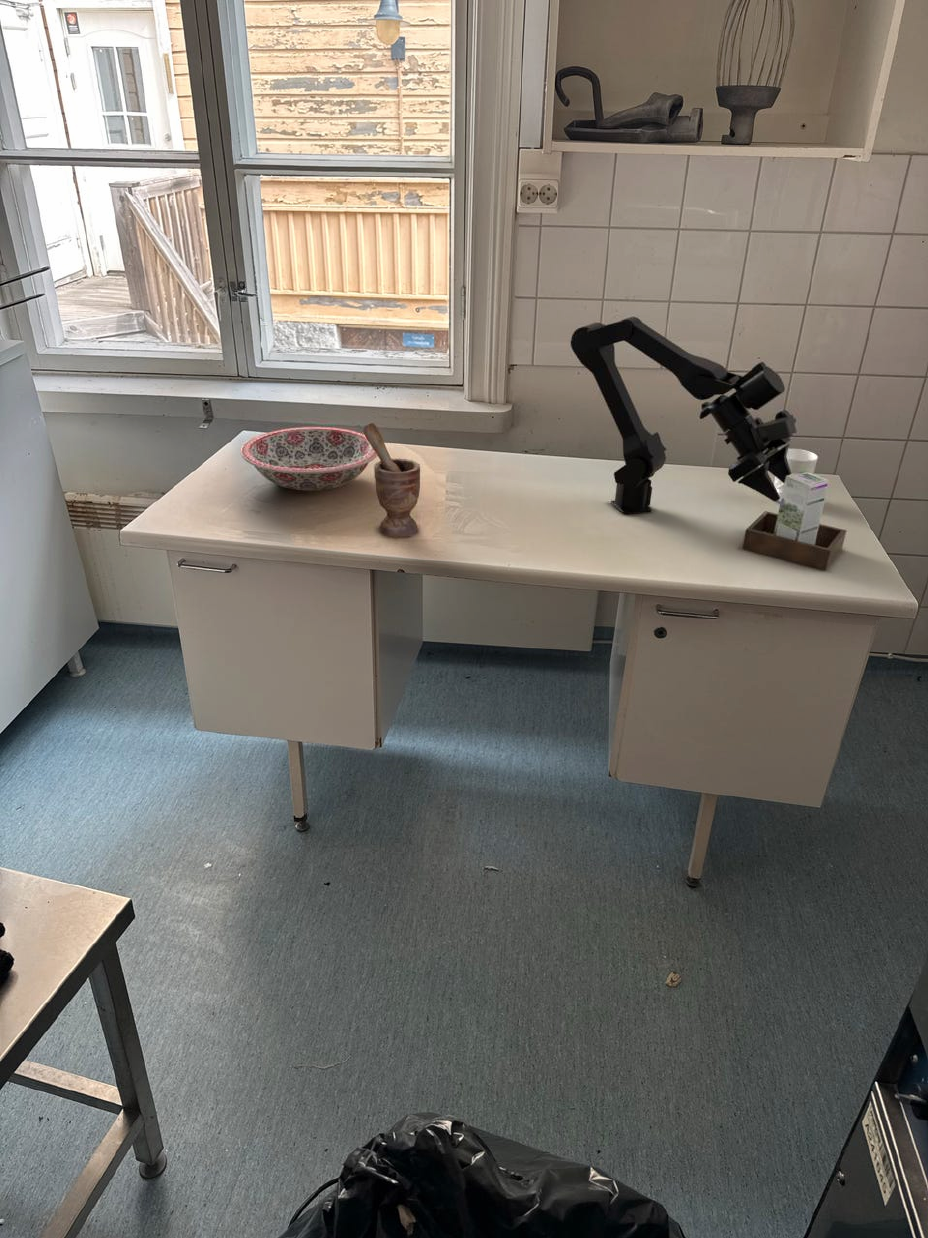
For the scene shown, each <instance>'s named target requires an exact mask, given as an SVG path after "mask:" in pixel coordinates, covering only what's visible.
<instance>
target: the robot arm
mask: <svg viewBox="0 0 928 1238" xmlns="http://www.w3.org/2000/svg"><path fill="white" fill-rule="evenodd" d="M620 342H625V343H627V344H629V345H630V346H632V347H633V348H634V349H636V350H638V351H639V352H641V353H642V354H644V355H645V356H647V357H648V358H649V359H651V360H653V361H654V362H656V363H657V364H659V365H660V366H661V367H663V368H664V369H666V370H667V371H669V372H670V373H672V374H673V375H674V376H675V377H676V379H677V381H678V382H679V383H680V385H681V386H682V387H683V389H685V390H686V391H687V392H688V393H689V394H690V395H691V396H692V397H694V398H695V399H696V400H698V401H705V400H710V399H711V398H713V397H714V396H718V397H716V398H715V399H714V400H713V401H711V402H709V401H705V402H703V403H701V410H700V413H699V419H700V420H704V419H705V418H707V417H708V416H709V415H711V416H712V418H713V419H714V421H715V422H716V424H717V425H718V426H719V428H720V429H721V431H722V432H723V433H724V435H725V437H726V438H725V439H724V440H723V442H725V444H726V445H729V444H731V445H732V446H733V448H734V449H735V451H736V452H737V454H738V455H739V456H738V457H736V461H735V462H734V463H732V464H731V465H730V466H729V467H728V470H727V475H728V476H729V478H730V479H731V481H732V482H733V483H735V482H737V483H738V484H739V485H740V484H742V485H744V486H745V487H747V488H750V489H752V490H753V491H756V492H757V493H759V494H761V495H762V496H764V497H766V498H767V499H769V500H771V501H773V502H778V501H777V500H779V499H780V496H779V494H778V492H777V490H776V488H775V486H774V482H773V480H772V478H771V477H770V475H769V473H770V474H772V475H773V476H774V478H775V477H777V478H778V479H779V480H780V481H782V482H783V483H785V478H786V476H788V475H790V474H791V471H790V468H789V464H788V461H787V457H786V456H787V452H788V449H790V447H791V446H790V445H791V444H790V443H789V442H790V441H791V438H792V437H793V436H794V435H793V434H796V433H797V428H796V423H797V419H796V418H795V417H794V415H793V414H791V413H789V411H788V410H787V409H784V410H781V411H778V412H777V413H775V417H774V419H770V420H769V421H766V422H764V421H763V420H762V418H761V417H758V416H757V417H755V418H754V417H753V415H752V414H751V412H750V411H749V410H750V409H752V410H755V411H758V410H760V409H762V408H763V407H764V406H766V405H767V404H769V403H770V402H772V401H774V400H775V399H776V398H778V397H779V396H780V395H782V394H783V393H784V392H785V390H786V388H785V384H784V381H783V379H782V378H781V376H780V375H779V373H778V372H775V371H774V369H772V368H771V367H769V366H768V365H767V364H765V362H764V361H761V362H759V363H757V364H756V365H754V366H753V367H752V368H751V370H749V371H747V372H746V373H745V374H744V375H740V374H737V373H734V372H730V371H728V370H727V369H726V368H725V367H724V366H723V365H722V364H720V363H718V362H715V361H713V360H711V359H708V358H705V357H703V356H698V355H694V354H692V353H690V352H687V351H686V350H685V349H683V348H682V347H680V346H679V345H677V344H676V343H674V342H672V341H671V340H670V339H668V338H667V337H665V336H664V335H662V334H661V333H659V332H658V331H656V330H655V329H653V328H651V327H650V326H648V325H647V324H646V323H645V322H642V320H641V319H640V318H639V317H637V316H630V317H626V318H624V319H621V320H619V321H616V322H612V323H609V324H604V323H601V322H593V323H590V324H587V325H583V326H581V327H578V328H576V329H575V330H574V331H573V333H572V335H571V339H570V340H569V343H570V348H571V350H572V352H573V353H574V355H575V356H576V358H577V359H578V361H579V363H580V364H582V366H584V368H586V369H587V370H588V371H589V372H590V373H591V374H592V375H593V377H594V379H595V382H596V384H597V387H598V388H599V391H600V393H601V395H602V397H603V399H604V402H605V404H606V406H607V408H608V411H609V413H610V414H611V417H612V419H613V422H614V424H615V426H616V428H617V430H618V433H619V434H620V436H621V439H622V457H623V460H624V463H625V464H624V465H623V466H621V467H620V468H619V469H617V470H615V471H614V472H613V478H614V482H615V484H616V487H615V497H614V500H611V501H610V504H611V505H612V506H613V507H614V508H616V509H617V510H618V511H619V512H620V513H622V514H623V515H633V514H642V513H651V512H652V510H653V509H652V508H651V506H650V505H651V502H652V501H651V499H652V493H653V486H652V480H651V479H650V478H652V477H653V476H654V475H655V473H657V472H658V471H659V470H661V469H662V468H663V467H664V466H665V462H666V460H667V457H666V453H665V452H666V451H667V448H666V447H665V446H664V444H663V442H662V439H661V436H660V433H659V432H654V433H653V434H652V433H650V431H648V430H647V429H646V428H645V426H644V425H643V422H642V420H641V417H640V416H639V413H638V411H637V408H636V406H635V404H634V401H633V400H632V397H631V396H630V393H629V391H628V388H627V387H626V384H625V381H624V380H623V378H622V376H621V373H620V371H619V369H618V367H617V364H616V357H615V356H616V355H615V344H617V343H620ZM732 390H735V391H734V392H732V394H730V395H729V396H728V395H726V394H727V393H729V392H730V391H732ZM719 395H720V396H719ZM784 445H785V446H784Z"/></svg>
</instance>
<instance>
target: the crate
mask: <svg viewBox="0 0 928 1238" xmlns="http://www.w3.org/2000/svg"><path fill="white" fill-rule="evenodd" d="M777 517H778V513H775V512H771V511H768V510H764V512H762V513H761V514H760V515H759V516H758V517H757V518H756V519H755V520H754V521H753V522H752V523H751V524H750V525H749V526H748V527H746V529H745V532H744V537H743V541H742V547H741V549H742V550H746V551H749V552H753V553H756V554H760V555H764V556H768V557H771V558H775V559H779V560H783V561H787V562H791V563H795V564H798V565H802V566H807V567H810V568H814V569H818V570H821V571H827V569H828V568H830V566H831V564H832V563H833V562H834V560H835V559H836V558H837V556H838V555H839V554H840V553H841V551H842V550H843V547H844V542H845V539H846V534H847V529H842V528H838V527H834V526H830V525H826V524H822V523H819V528H818V532H817V536H816V541H815V545H812V544H808V543H804V542H800V541H796V540H792V539H788V538H784V537H780V536H776V535H774V532H775V527H776V522H777Z"/></svg>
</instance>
